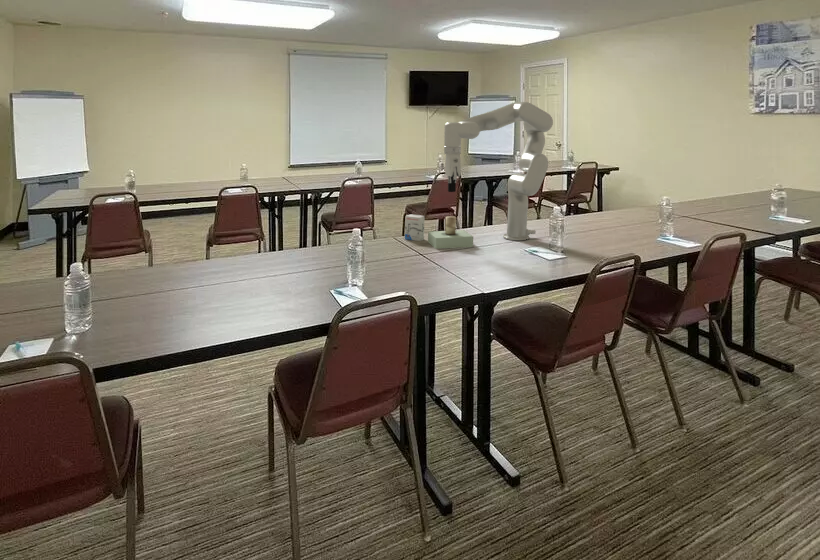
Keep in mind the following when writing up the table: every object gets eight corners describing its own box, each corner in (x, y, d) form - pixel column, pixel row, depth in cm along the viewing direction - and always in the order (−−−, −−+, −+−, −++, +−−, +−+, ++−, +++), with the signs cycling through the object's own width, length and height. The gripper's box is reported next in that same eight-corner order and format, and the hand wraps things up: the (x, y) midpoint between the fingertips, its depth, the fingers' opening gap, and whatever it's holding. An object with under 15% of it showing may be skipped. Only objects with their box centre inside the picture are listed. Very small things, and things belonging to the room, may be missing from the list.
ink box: (404, 239, 268) (404, 215, 265) (409, 237, 273) (409, 214, 269) (420, 241, 265) (420, 217, 261) (424, 239, 269) (424, 215, 265)
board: (463, 240, 267) (463, 230, 265) (473, 246, 254) (473, 236, 252) (427, 241, 263) (428, 231, 262) (435, 248, 250) (435, 238, 249)
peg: (453, 240, 261) (454, 216, 257) (456, 243, 256) (457, 217, 253) (443, 241, 260) (444, 216, 256) (446, 243, 255) (447, 218, 252)
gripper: (465, 151, 240) (464, 193, 245) (455, 149, 254) (454, 189, 259) (449, 152, 238) (448, 194, 244) (439, 149, 252) (439, 189, 257)
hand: (451, 191), depth 251 cm, fingers closed
